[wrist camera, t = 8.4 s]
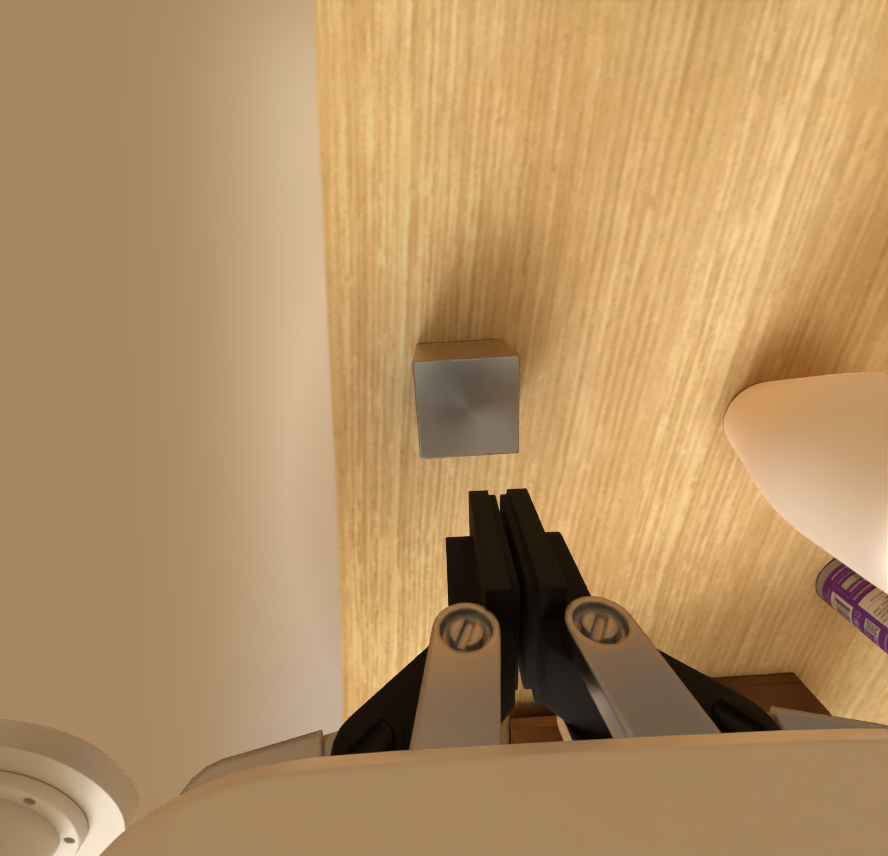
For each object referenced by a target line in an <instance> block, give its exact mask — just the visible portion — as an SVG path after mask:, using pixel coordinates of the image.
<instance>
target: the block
mask: <svg viewBox="0 0 888 856" xmlns="http://www.w3.org/2000/svg"><path fill="white" fill-rule="evenodd" d="M412 364H413V376H414V388H415V399H416V411H417V423H418V434H419V446H420V457H421V459H428V458H444V457H460V456H476V455H492V454H508V453H518V452H519V394H520V356H519V354H518V353H516V352H515V351H514V350H513V349H512V348H511V347H510V346H509V345H508V344H507V343H506V342H505V341H504V340H503V339H492V340H476V341H459V342H443V343H427V344H417V345H416V349H415V354H414V358H413V363H412Z"/></svg>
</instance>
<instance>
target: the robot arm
mask: <svg viewBox="0 0 888 856" xmlns="http://www.w3.org/2000/svg"><path fill="white" fill-rule="evenodd" d="M469 528H470V536H464V537H446V557H447V582H448V606H449V607H447V608H446V609H444V610H442V611H441V612H440V613H439V615H438V616H437V617H436V618H435V621H434V624H433V626H432V632H431V637H430V642H429V646H428V647H427V648H426V649H425V650H424V651H423V652H422V653H420V654H419V655H418V656H417V657H416V658H415V659H414V660H413V661H412V662H410V663H409V664H408V665H407V666H406V667H405V668H404V669H403V670H402V671H400V672H399V673H398V674H397V675H396V676H395V677H394V678H393V679H392V680H390V681H389V682H388V683H387V684H386V685H385V686H384V687H383V688H382V689H380V690H379V691H378V692H377V693H376V694H375V695H374V696H373V697H372V698H370V699H369V700H368V701H367V702H366V703H365V704H364V705H363V706H362V707H360V708H359V709H358V710H357V711H356V712H355V713H354V714H353V715H352V716H350V717H349V718H348V720H347V721H346V722H345V723H344V724H343V725H342V726H341V728H340V729H339V731H337V732H334V733H330V734H327V735H324V736H323V732H322V730H319V731H316V732H313V733H309V734H306V735H303V736H299V737H296V738H292V739H289V740H286V741H282V742H279V743H275V744H272V745H269V746H265V747H262V748H259V749H255V750H252V751H249V752H245V753H242V754H238V755H235V756H231V757H228V758H225V759H221V760H219V761H217V762H215V763H213V764H211V765H209V766H207V767H205V768H204V769H203V770H202V771H201V772H199V773H198V774H197V775H196V776H195V777H193V778H192V779H191V781H190V782H189V784H188V785H187V786H186V787H185V788H184V790H183V791H182V792H181V794H180V796H178V797H175V798H174V799H172V800H170V801H168V802H167V803H165V804H163V805H161V806H160V807H158V808H156V809H154V810H153V811H151V812H150V813H148V814H147V815H146V816H144V817H142V818H141V819H139V820H138V821H136V822H135V823H134V824H133V825H131V826H130V827H129V828H128V829H126V830H125V831H124V832H123V833H122V834H120V835H119V836H118V837H117V838H116V839H115V840H114V841H113V842H112V843H111V844H110V845H109V846H108V847H107V848H106V849H105V850H104V851H103V852H102V853H101V854H100V855H99V856H888V726H887V725H884V724H878V723H872V722H866V721H860V720H854V719H848V718H841V717H835V716H829V715H823V714H817V713H811V712H805V711H799V710H793V709H787V708H781V707H775V706H771V709H770V712H766V711H764V710H763V709H762V708H761V707H760V706H758V705H757V704H755V703H754V702H752V701H751V700H749V699H748V698H746V697H745V696H743V695H741V694H739V693H737V692H735V691H733V690H732V689H730V688H728V687H726V686H724V685H722V684H720V683H719V682H717V681H715V680H713V679H711V678H709V677H708V676H706V675H704V674H702V673H700V672H698V671H696V670H695V669H693V668H691V667H689V666H687V665H685V664H684V663H682V662H680V661H678V660H676V659H674V658H672V657H671V656H669V655H667V654H665V653H663V652H661V651H660V650H658V649H657V648H656V647H655V646H654V645H653V643H652V642H651V641H650V639H649V638H648V637H647V635H646V634H645V633H644V632H643V630H642V629H641V628H640V626H639V625H638V624H637V622H636V621H635V620H634V618H633V617H632V616H631V615H630V614H629V613H628V612H627V611H626V610H625V609H624V608H623V607H621V606H620V605H618V604H617V603H615V602H613V601H610V600H608V599H605V598H601V597H596V596H591V595H590V593H589V591H588V589H587V587H586V585H585V583H584V581H583V578H582V576H581V574H580V572H579V570H578V568H577V566H576V564H575V562H574V560H573V558H572V556H571V553H570V551H569V549H568V547H567V545H566V543H565V541H564V539H563V537H562V535H561V533H560V532H545V531H544V529H543V526H542V524H541V522H540V519H539V517H538V514H537V512H536V510H535V507H534V505H533V503H532V500H531V498H530V495H529V493H528V491H527V489H526V488H523V489H507V493H506V494H502V495H500V511H499V507H498V504H497V500H496V496H495V495H489V494H488V491H487V490H484V491H469ZM518 665H519V670H520V674H521V679H522V684H523V687H524V689H532V693H533V697H534V701H535V705H544V706H545V707H547V708H548V709H549V710H551V711H552V712H553V713H555V714H556V715H557V723H558V727H559V731H560V733H561V735H562V738H563V740H564V741H559V742H540V743H522V744H504V745H501V723H502V722H503V721H504V719H505V718H506V717H507V715H508V714H509V713H510V712H511V710H512V709H513V708H514V706H515V690H517V689H518ZM87 833H88V823H87V819H86V817H85V815H84V812H83V811H82V810H81V808H80V807H79V806H78V805H77V803H76V802H75V801H73V800H72V799H71V798H70V797H69V796H68V795H66V794H65V793H63V792H62V791H60V790H58V789H57V788H55V787H53V786H51V785H49V784H47V783H45V782H43V781H40V780H37V779H35V778H32V777H29V776H26V775H22V774H17V773H13V772H9V771H1V770H0V856H75V855H76V854H77V852H78V851H79V849H80V847H81V846H82V844H83V842H84V841H85V839H86V837H87Z"/></svg>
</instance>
